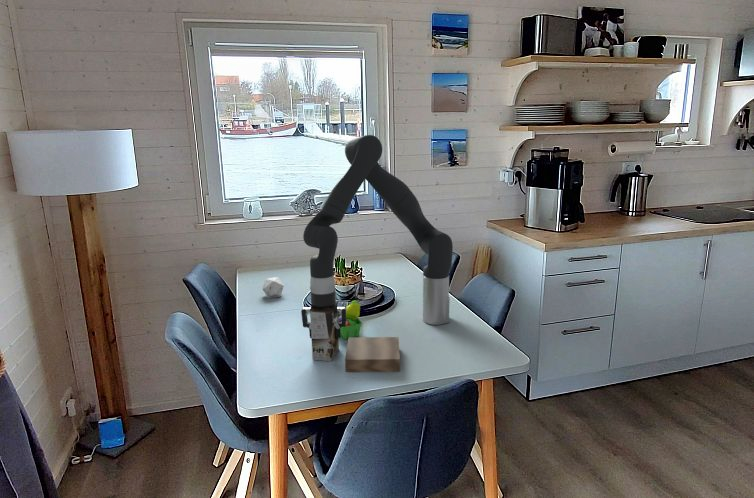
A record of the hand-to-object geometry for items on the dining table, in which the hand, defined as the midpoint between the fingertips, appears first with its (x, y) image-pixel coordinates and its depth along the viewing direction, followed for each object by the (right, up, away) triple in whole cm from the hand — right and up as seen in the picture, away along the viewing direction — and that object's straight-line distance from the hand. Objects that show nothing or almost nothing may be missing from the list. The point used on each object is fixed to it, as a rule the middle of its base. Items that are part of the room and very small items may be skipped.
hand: (325, 338), depth 160 cm
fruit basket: (+6, -1, +17) cm, 18 cm away
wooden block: (+15, -6, -3) cm, 16 cm away
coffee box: (0, -5, +1) cm, 5 cm away
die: (-27, +8, +53) cm, 60 cm away
